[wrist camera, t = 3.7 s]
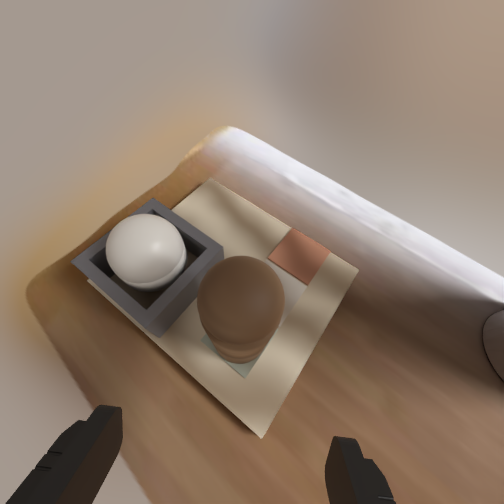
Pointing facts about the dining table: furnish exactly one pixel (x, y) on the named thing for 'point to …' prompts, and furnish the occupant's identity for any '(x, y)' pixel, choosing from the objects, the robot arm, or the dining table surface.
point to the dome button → (146, 252)
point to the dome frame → (178, 293)
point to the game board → (294, 315)
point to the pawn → (240, 307)
